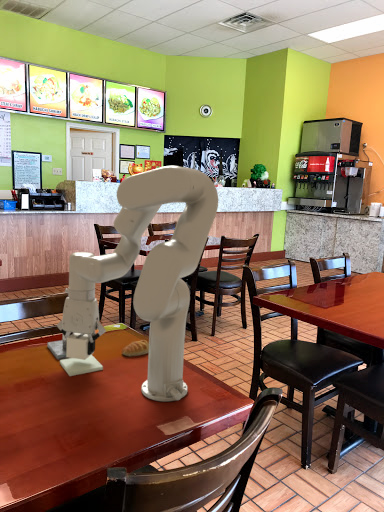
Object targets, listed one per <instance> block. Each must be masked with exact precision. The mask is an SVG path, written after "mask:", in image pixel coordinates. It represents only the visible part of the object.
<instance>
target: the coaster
mask: <svg viewBox="0 0 384 512" xmlns="http://www.w3.org/2000/svg"><path fill="white" fill-rule="evenodd" d="M59 365H60V366H61V367H62V369H64V371H65V372H66V373H67V375H68V376H69V377H72V376H76V375H77V376H78V375H83V374H86V373H88V374H89V373H92V372H97V371H102V370H104V366H103V365H102V364H101V363H100V362H99V361H98V359H96V358H95V356H93V354H92V355H90V356H89V357H88V358H87V359H86V360H82V359H76V358H64V359H59Z"/></svg>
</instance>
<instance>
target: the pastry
mask: <svg viewBox="0 0 384 512" xmlns="http://www.w3.org/2000/svg"><path fill="white" fill-rule="evenodd" d="M121 354H122V355H123V356H126V357H139V356H142V355H146V354H149V341H147V340H145V339H140V340H137V341H131V343H129V344H128V345H125V346H124V347H123V348H122V351H121Z"/></svg>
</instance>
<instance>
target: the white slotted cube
mask: <svg viewBox="0 0 384 512" xmlns="http://www.w3.org/2000/svg"><path fill="white" fill-rule="evenodd" d="M88 342H89V338H88V335H87V334H81V333H73V334H72V335H70V336H69V337H67V352H66V357H69V358H76V359H82V360H86V359H87V358H88V357H89V356H90V355H88ZM94 353H95V351H94V352H93V353H92V354H91V355H92V356H93V354H94ZM69 358H68V359H69Z"/></svg>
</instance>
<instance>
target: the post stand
mask: <svg viewBox="0 0 384 512" xmlns="http://www.w3.org/2000/svg"><path fill="white" fill-rule="evenodd" d="M47 348H48V349H49V351H50V352H51V354H52V355H53V356H54V357H55V359H56V360H64V359H69V357H66V352H67V348H66V339H65V336H64V335H63V334H62V339H61V340H55V341H49V342H48V341H47Z"/></svg>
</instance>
